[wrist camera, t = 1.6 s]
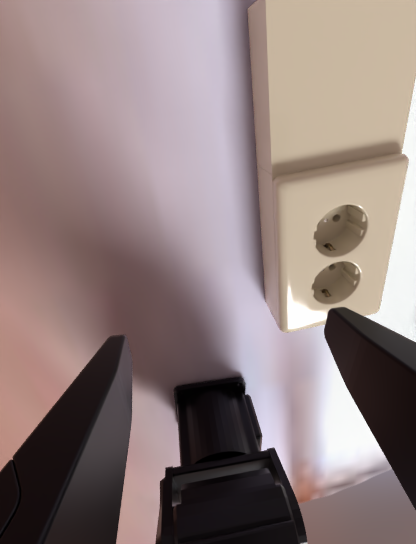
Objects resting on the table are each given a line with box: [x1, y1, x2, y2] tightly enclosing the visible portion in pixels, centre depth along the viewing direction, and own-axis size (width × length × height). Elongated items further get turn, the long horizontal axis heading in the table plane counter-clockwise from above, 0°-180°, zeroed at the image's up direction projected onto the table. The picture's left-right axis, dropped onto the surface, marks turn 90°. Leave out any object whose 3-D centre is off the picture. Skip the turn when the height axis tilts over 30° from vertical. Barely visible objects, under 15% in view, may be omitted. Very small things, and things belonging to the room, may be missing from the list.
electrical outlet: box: [247, 0, 416, 333], centre depth 18 cm, size 7×4×18 cm
